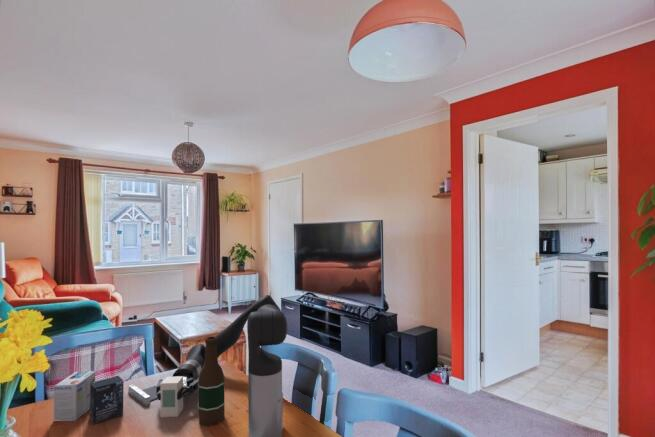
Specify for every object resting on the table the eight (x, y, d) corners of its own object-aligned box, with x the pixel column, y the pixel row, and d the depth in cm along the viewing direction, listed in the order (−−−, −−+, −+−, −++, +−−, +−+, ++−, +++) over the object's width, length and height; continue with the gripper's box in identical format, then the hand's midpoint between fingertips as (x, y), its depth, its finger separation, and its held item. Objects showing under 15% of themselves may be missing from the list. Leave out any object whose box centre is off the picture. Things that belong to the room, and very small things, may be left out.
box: (93, 424, 107) (94, 387, 107) (89, 417, 111) (89, 382, 111) (123, 415, 112) (124, 380, 113) (118, 408, 117) (118, 374, 117)
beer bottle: (203, 412, 114) (203, 333, 114) (228, 412, 113) (228, 333, 114) (193, 426, 106) (193, 341, 106) (220, 426, 106) (220, 341, 106)
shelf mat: (169, 382, 136) (169, 381, 136) (182, 390, 129) (182, 389, 129) (134, 393, 127) (134, 392, 127) (146, 402, 120) (146, 401, 120)
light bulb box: (74, 405, 119) (74, 371, 119) (95, 404, 120) (96, 370, 120) (52, 422, 109) (52, 385, 109) (76, 421, 109) (76, 384, 109)
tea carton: (183, 408, 116) (183, 376, 117) (177, 416, 111) (177, 383, 111) (166, 408, 116) (166, 376, 116) (160, 417, 111) (160, 383, 111)
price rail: (134, 391, 129) (134, 383, 129) (151, 403, 120) (151, 396, 120) (128, 393, 127) (128, 385, 128) (145, 405, 118) (145, 398, 118)
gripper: (166, 363, 128) (144, 384, 111) (208, 362, 129) (193, 383, 112) (166, 385, 128) (144, 410, 111) (208, 384, 128) (193, 408, 111)
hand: (168, 396), depth 111 cm, fingers closed on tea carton, 5 cm apart
